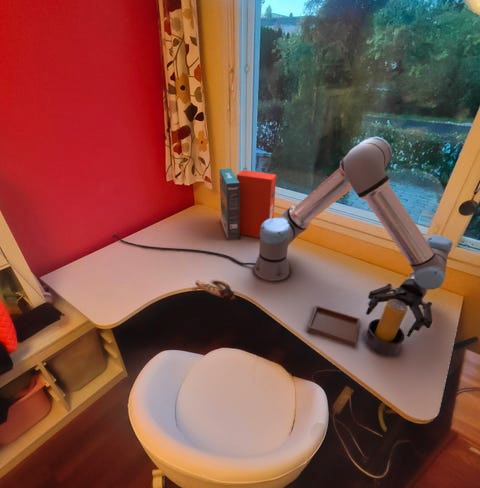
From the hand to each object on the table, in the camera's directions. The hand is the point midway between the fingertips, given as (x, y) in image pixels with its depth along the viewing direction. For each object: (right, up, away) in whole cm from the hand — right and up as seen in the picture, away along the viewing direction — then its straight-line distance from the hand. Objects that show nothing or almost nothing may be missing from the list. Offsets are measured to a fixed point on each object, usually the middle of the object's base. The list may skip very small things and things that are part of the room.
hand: (387, 322), depth 84 cm
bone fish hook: (-53, +5, +30) cm, 61 cm away
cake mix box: (-49, +34, +73) cm, 94 cm away
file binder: (-36, +32, +69) cm, 84 cm away
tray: (-11, -5, +15) cm, 19 cm away
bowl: (+3, -9, +9) cm, 13 cm away
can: (+3, -8, +9) cm, 13 cm away
